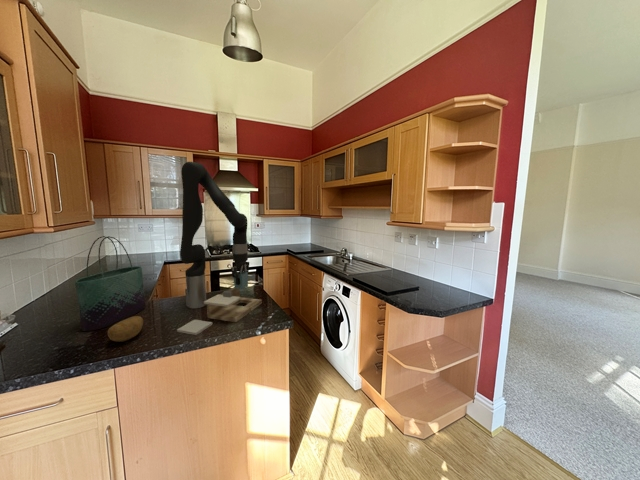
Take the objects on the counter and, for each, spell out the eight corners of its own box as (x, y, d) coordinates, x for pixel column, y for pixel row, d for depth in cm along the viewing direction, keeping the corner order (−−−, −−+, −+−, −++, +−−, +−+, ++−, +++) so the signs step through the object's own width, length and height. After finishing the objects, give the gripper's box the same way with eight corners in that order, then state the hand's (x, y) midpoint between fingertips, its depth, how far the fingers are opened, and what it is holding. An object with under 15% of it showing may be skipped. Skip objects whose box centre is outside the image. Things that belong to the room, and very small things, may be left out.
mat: (177, 331, 110) (177, 329, 110) (194, 321, 119) (194, 319, 119) (196, 335, 107) (195, 332, 107) (212, 324, 116) (212, 322, 116)
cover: (203, 303, 118) (203, 296, 118) (218, 296, 128) (217, 289, 127) (227, 306, 114) (227, 299, 114) (240, 299, 124) (240, 292, 123)
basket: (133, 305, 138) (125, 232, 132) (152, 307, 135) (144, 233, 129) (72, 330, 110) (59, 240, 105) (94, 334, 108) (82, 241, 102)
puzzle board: (207, 317, 123) (206, 301, 122) (237, 300, 146) (236, 285, 145) (235, 322, 118) (235, 305, 117) (261, 303, 141) (261, 288, 140)
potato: (152, 330, 111) (150, 313, 110) (124, 348, 97) (122, 328, 96) (131, 329, 112) (129, 312, 111) (101, 346, 98) (98, 327, 97)
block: (234, 288, 134) (233, 273, 133) (239, 285, 139) (239, 271, 138) (242, 289, 133) (242, 274, 132) (247, 286, 138) (247, 272, 136)
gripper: (241, 248, 141) (242, 278, 143) (225, 254, 127) (226, 286, 130) (253, 249, 139) (254, 279, 141) (238, 255, 125) (239, 288, 128)
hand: (241, 282), depth 136 cm, fingers closed on block, 5 cm apart
